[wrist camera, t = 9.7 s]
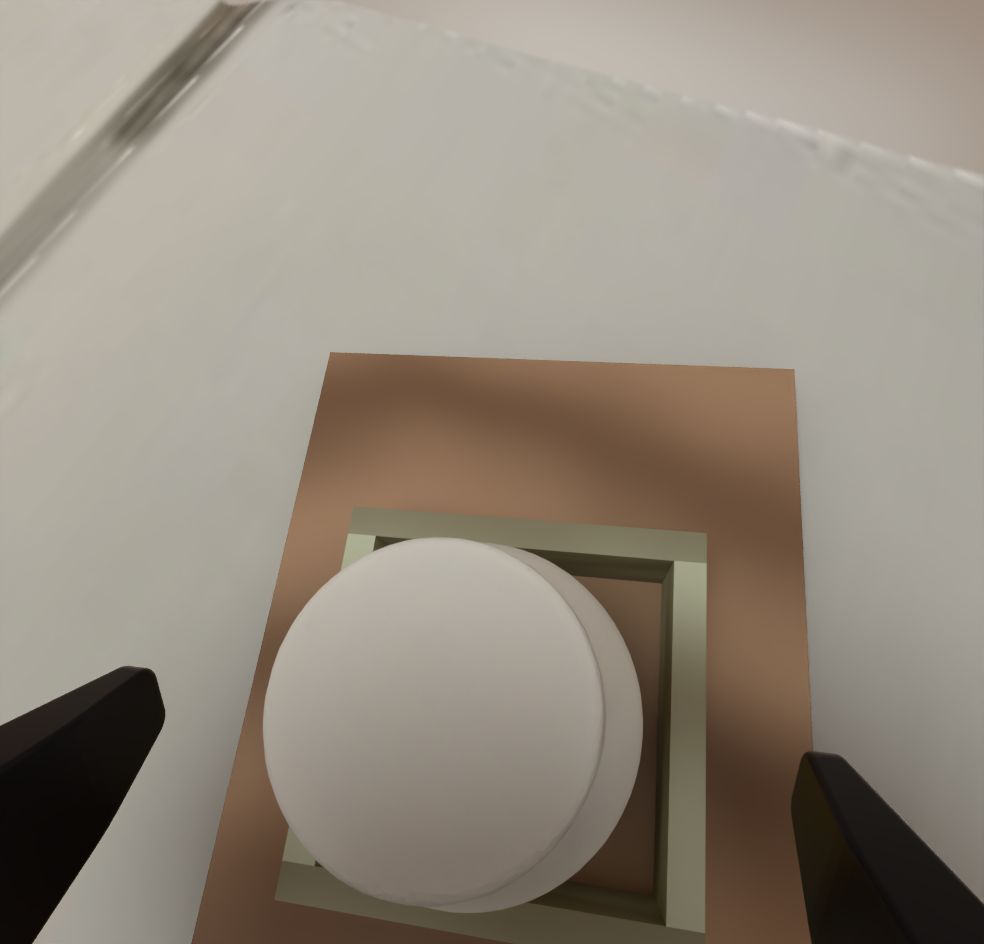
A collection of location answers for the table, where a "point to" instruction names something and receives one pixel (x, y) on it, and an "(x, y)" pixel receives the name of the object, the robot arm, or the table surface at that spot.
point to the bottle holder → (618, 588)
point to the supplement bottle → (453, 725)
